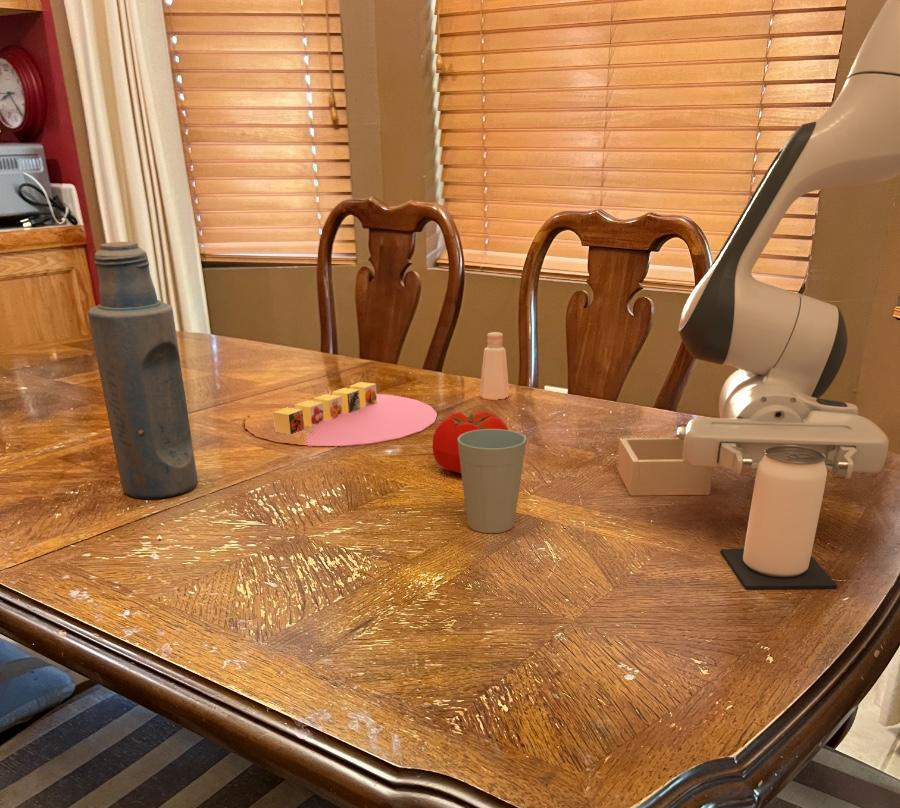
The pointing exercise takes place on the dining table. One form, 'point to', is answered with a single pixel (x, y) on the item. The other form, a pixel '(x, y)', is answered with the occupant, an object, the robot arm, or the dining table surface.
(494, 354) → the salt shaker
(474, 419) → the tomato
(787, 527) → the can
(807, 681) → the dining table surface
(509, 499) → the cup
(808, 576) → the mat
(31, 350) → the dining table surface
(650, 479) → the caddy
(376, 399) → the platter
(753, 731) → the dining table surface
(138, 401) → the bottle
